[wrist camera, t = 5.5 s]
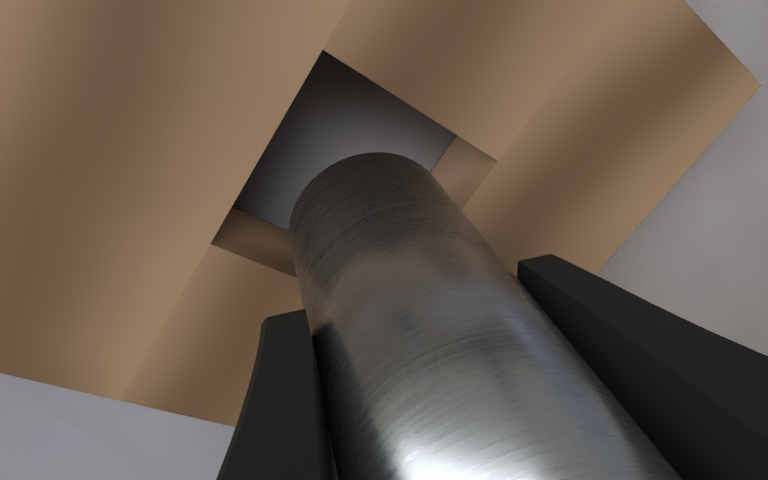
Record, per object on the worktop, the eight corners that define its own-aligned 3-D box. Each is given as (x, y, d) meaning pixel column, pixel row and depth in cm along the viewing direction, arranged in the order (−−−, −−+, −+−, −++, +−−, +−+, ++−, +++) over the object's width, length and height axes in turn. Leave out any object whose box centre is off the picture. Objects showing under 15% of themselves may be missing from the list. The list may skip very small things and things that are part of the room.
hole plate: (694, 63, 17) (762, 85, 14) (403, 416, 21) (422, 470, 19) (190, -442, 9) (181, -549, 7) (-80, 278, 14) (-132, 342, 12)
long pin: (444, 137, 11) (883, 571, 4) (450, 276, 13) (749, 745, 6) (273, 171, 11) (390, 759, 3) (304, 310, 13) (426, 884, 5)
